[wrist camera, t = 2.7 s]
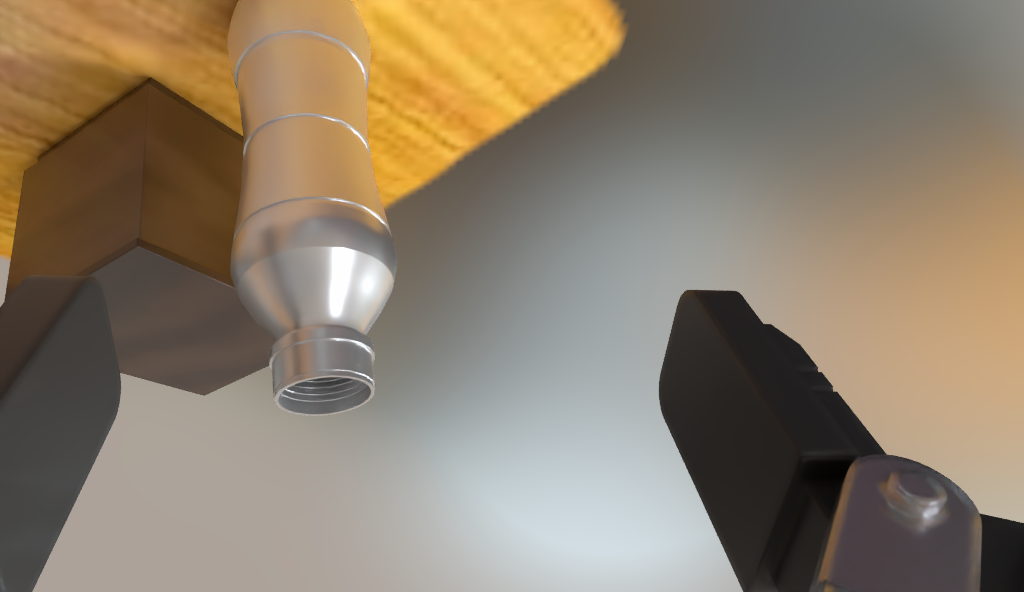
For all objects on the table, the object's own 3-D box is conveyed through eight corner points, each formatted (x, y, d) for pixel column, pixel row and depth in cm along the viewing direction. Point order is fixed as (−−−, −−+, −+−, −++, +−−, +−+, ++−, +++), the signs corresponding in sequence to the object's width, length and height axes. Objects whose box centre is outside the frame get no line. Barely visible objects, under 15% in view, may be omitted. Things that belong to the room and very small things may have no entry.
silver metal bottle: (238, 66, 39) (245, 439, 29) (213, -51, 33) (212, 367, 24) (366, 63, 40) (411, 419, 31) (364, -49, 34) (419, 347, 25)
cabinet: (2, 164, 42) (-28, 343, 37) (147, 60, 37) (136, 246, 32) (195, 252, 52) (192, 401, 47) (326, 178, 48) (339, 333, 43)
